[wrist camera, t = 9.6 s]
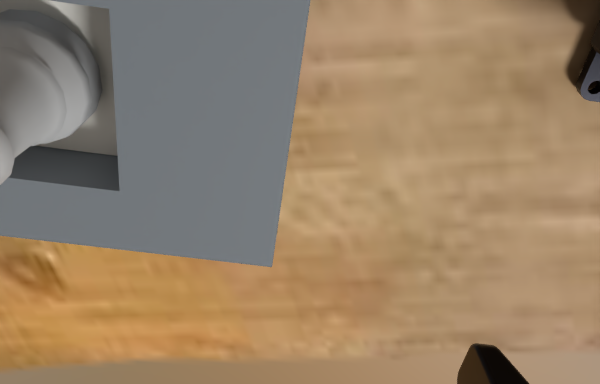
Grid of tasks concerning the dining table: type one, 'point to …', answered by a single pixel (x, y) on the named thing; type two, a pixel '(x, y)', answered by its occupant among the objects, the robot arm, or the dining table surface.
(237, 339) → the dining table surface
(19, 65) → the rook chess piece
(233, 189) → the socket board
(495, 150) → the dining table surface
